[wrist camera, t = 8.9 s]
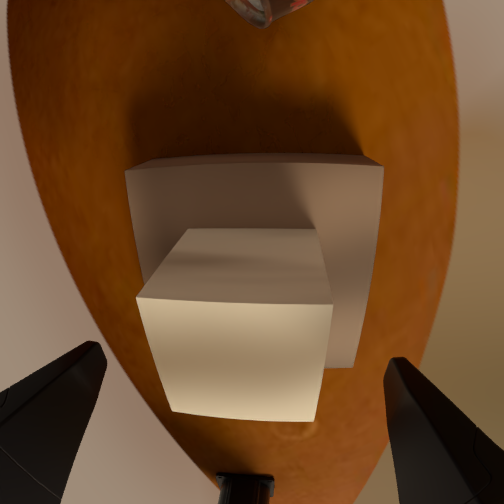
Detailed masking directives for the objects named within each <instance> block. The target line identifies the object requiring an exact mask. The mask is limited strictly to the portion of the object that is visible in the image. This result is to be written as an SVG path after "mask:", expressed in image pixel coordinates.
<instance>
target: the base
mask: <svg viewBox="0 0 504 504" xmlns="http://www.w3.org/2000/svg"><path fill="white" fill-rule="evenodd" d="M383 175H384V166H382V165H380V164H379V163H377V162H375V161H373V160H372V159H370V158H368V157H366V156H362V155H345V154H320V153H239V154H214V155H196V156H182V157H169V158H158V159H152V160H149V161H147V162H144V163H142V164H139V165H137V166H135V167H132V168H130V169H127V170H125V178H126V186H127V193H128V200H129V206H130V213H131V219H132V225H133V230H134V236H135V241H136V247H137V252H138V257H139V262H140V267H141V271H142V276H143V281H144V285H145V284H146V283H147V282H148V280H149V279H150V278H151V276H152V275H153V274H154V272H155V271H156V270H157V268H158V267H159V266H160V264H161V263H162V262H163V260H164V259H165V258H166V256H167V255H168V254H169V253H170V251H171V250H172V249H173V247H174V246H175V245H176V243H177V242H178V241H179V240H180V238H181V237H182V236H183V235H184V233H185V232H186V231H187V230H188V229H199V228H260V229H316V230H317V234H318V239H319V243H320V247H321V251H322V255H323V260H324V264H325V268H326V273H327V277H328V282H329V286H330V291H331V296H332V300H333V311H332V319H331V326H330V333H329V340H328V346H327V352H326V359H325V365H324V368H350V367H353V364H354V360H355V356H356V352H357V348H358V343H359V339H360V335H361V330H362V325H363V321H364V316H365V311H366V306H367V300H368V295H369V289H370V284H371V278H372V272H373V265H374V259H375V252H376V244H377V237H378V229H379V220H380V210H381V200H382V189H383Z"/></svg>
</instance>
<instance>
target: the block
mask: <svg viewBox="0 0 504 504" xmlns="http://www.w3.org/2000/svg"><path fill="white" fill-rule="evenodd" d="M136 300H137V303H138V307H139V311H140V315H141V318H142V322H143V325H144V329H145V332H146V336H147V339H148V342H149V346H150V349H151V352H152V355H153V358H154V361H155V364H156V367H157V370H158V373H159V376H160V379H161V382H162V385H163V388H164V391H165V393H166V396H167V399H168V402H169V404H170V407H171V410H172V411H174V412H181V413H188V414H195V415H203V416H211V417H221V418H231V419H244V420H260V421H293V422H309V421H314V417H315V413H316V408H317V403H318V398H319V392H320V387H321V382H322V376H323V370H324V365H325V359H326V352H327V346H328V340H329V333H330V326H331V319H332V311H333V300H332V296H331V291H330V286H329V282H328V277H327V273H326V268H325V264H324V260H323V255H322V251H321V247H320V243H319V239H318V234H317V230H316V229H260V228H199V229H188V230H187V231H186V232H185V233H184V235H183V236H182V237H181V238H180V240H179V241H178V242H177V243H176V245H175V246H174V247H173V249H172V250H171V251H170V253H169V254H168V255H167V256H166V258H165V259H164V260H163V262H162V263H161V264H160V266H159V267H158V268H157V270H156V271H155V272H154V274H153V275H152V276H151V278H150V279H149V280H148V282H147V283H146V284H145V286H144V287H143V288H142V290H141V291H140V292H139V294H138V295H137V297H136Z"/></svg>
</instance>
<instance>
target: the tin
mask: <svg viewBox="0 0 504 504" xmlns="http://www.w3.org/2000/svg"><path fill="white" fill-rule="evenodd" d="M225 1H226V2H227V3H228V4H229V5H230V6H231V7H232V8H233V9H234V10H235V11H236V12H237V13H238V14H239V15H240V16H241V17H242V18H244V19H245V20H246V21H247V22H249V23H250V24H252V25H253V26H255V27H257V28H261V29H263V28H267V27H268V26H269V25H270V24H271V22H272V21H274V20H276V19H278V18H280V17H282V16H284V15H286V14H288V13H290V12H293V11H295V10H297V9H299V8H301V7H303V6H305V5H307V4H309V3H310V2H312V1H313V0H225Z"/></svg>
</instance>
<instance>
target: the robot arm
mask: <svg viewBox="0 0 504 504" xmlns="http://www.w3.org/2000/svg"><path fill="white" fill-rule="evenodd" d="M106 368H107V359H106V357H105V354H104V352H103V350H102V347H101V345H100V344H99V343H98V342H94V341H86V342H84V343H83V344H81V345H79V346H78V347H76V348H74V349H73V350H71V351H69V352H68V353H66V354H64V355H62V356H61V357H59V358H57V359H56V360H54V361H52V362H51V363H49V364H47V365H46V366H44V367H42V368H40V369H39V370H37V371H35V372H34V373H32V374H30V375H29V376H27V377H25V378H24V379H22V380H20V381H19V382H17V383H15V384H14V385H12V386H10V388H7V389H5V390H4V391H2V392H0V504H60V503H61V499H62V496H63V493H64V490H65V487H66V484H67V480H68V477H69V474H70V472H71V468H72V466H73V462H74V460H75V457H76V454H77V452H78V449H79V446H80V443H81V441H82V438H83V435H84V433H85V430H86V428H87V425H88V422H89V420H90V417H91V414H92V412H93V410H94V407H95V404H96V401H97V398H98V395H99V391H100V388H101V385H102V381H103V378H104V375H105V371H106ZM383 384H384V394H385V405H386V417H387V427H388V433H389V439H390V444H391V449H392V455H393V461H394V467H395V474H396V480H397V488H398V494H399V503H400V504H504V450H502V449H501V448H500V447H499V446H498V445H496V444H495V443H494V442H493V441H492V440H491V439H490V438H489V437H488V436H487V435H486V434H485V433H484V432H483V431H482V430H481V429H480V428H479V427H477V428H476V425H475V424H474V423H473V422H472V421H471V420H470V419H469V418H468V417H467V416H466V415H465V414H464V413H463V412H462V411H461V410H460V409H459V408H458V407H457V406H456V405H455V404H454V403H453V402H452V401H451V400H450V399H448V398H447V397H446V396H445V395H444V394H443V393H442V392H441V391H440V390H439V389H438V388H437V387H436V386H435V385H434V384H433V383H432V382H430V380H428V379H427V378H426V377H425V376H424V375H423V374H422V373H421V372H420V371H419V370H418V369H417V368H416V367H415V366H414V365H412V364H411V363H410V362H409V361H408V360H407V359H406V358H405V357H393V358H391V359H390V361H389V364H388V367H387V369H386V372H385V375H384V380H383ZM216 480H217V482H218V485H219V487H220V490H221V491H220V496H219V501H218V504H269V498H270V497H273V493H274V480H275V479H274V478H272V477H255V476H242V475H231V474H222V473H217V474H216Z"/></svg>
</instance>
